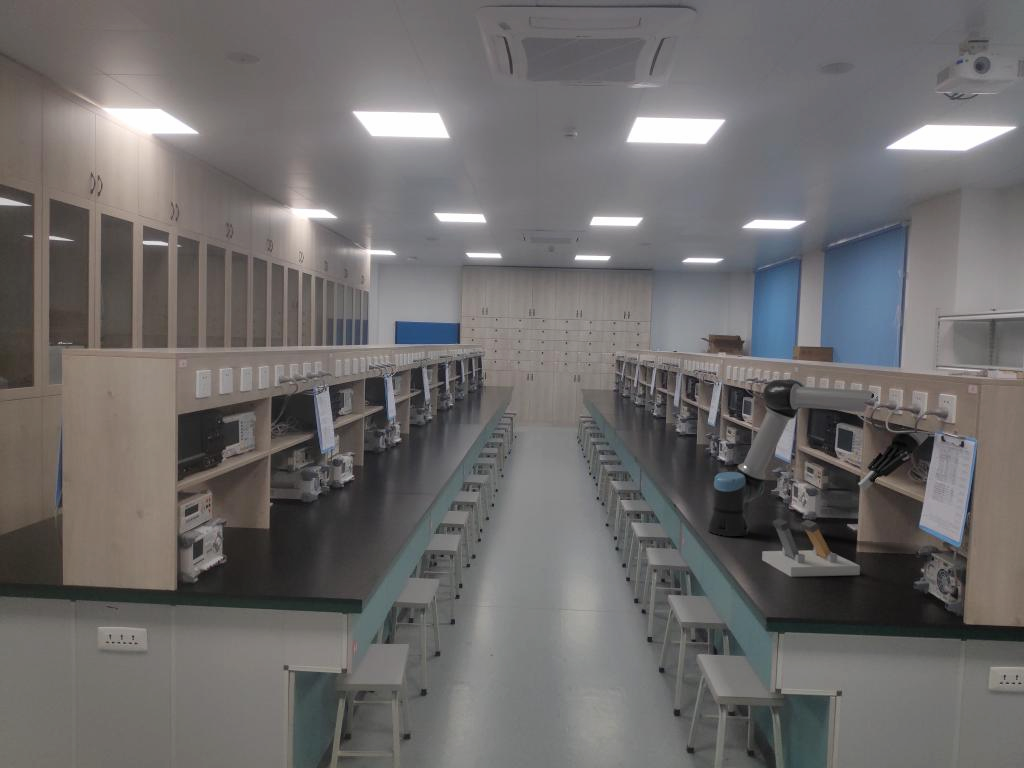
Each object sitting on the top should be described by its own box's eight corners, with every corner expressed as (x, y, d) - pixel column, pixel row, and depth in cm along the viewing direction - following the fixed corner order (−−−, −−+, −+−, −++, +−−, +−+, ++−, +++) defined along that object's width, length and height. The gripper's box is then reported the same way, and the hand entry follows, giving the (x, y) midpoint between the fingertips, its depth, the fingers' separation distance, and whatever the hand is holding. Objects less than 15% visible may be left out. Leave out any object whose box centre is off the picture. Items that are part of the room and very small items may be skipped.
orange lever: (818, 556, 217) (800, 523, 216) (824, 552, 217) (807, 519, 216) (827, 561, 212) (810, 527, 210) (834, 557, 212) (816, 523, 211)
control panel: (762, 559, 220) (762, 544, 220) (826, 558, 224) (827, 543, 224) (790, 576, 204) (791, 559, 203) (859, 574, 207) (860, 558, 207)
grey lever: (786, 557, 215) (772, 521, 214) (792, 553, 216) (778, 518, 214) (795, 561, 210) (780, 525, 209) (802, 558, 210) (787, 522, 209)
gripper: (930, 449, 213) (882, 499, 211) (901, 444, 226) (855, 490, 224) (917, 433, 212) (868, 483, 210) (888, 428, 225) (842, 475, 223)
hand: (861, 487), depth 217 cm, fingers closed
